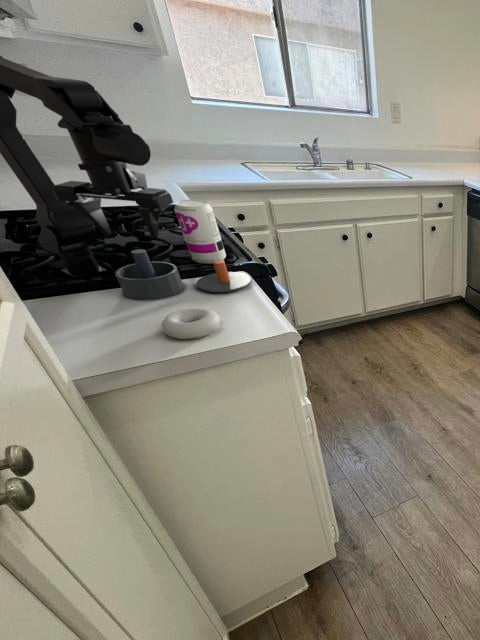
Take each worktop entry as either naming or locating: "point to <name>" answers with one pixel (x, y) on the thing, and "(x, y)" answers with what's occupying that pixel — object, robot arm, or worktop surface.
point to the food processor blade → (143, 263)
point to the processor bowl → (150, 281)
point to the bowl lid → (223, 279)
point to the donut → (191, 323)
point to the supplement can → (200, 230)
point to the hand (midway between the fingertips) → (132, 236)
